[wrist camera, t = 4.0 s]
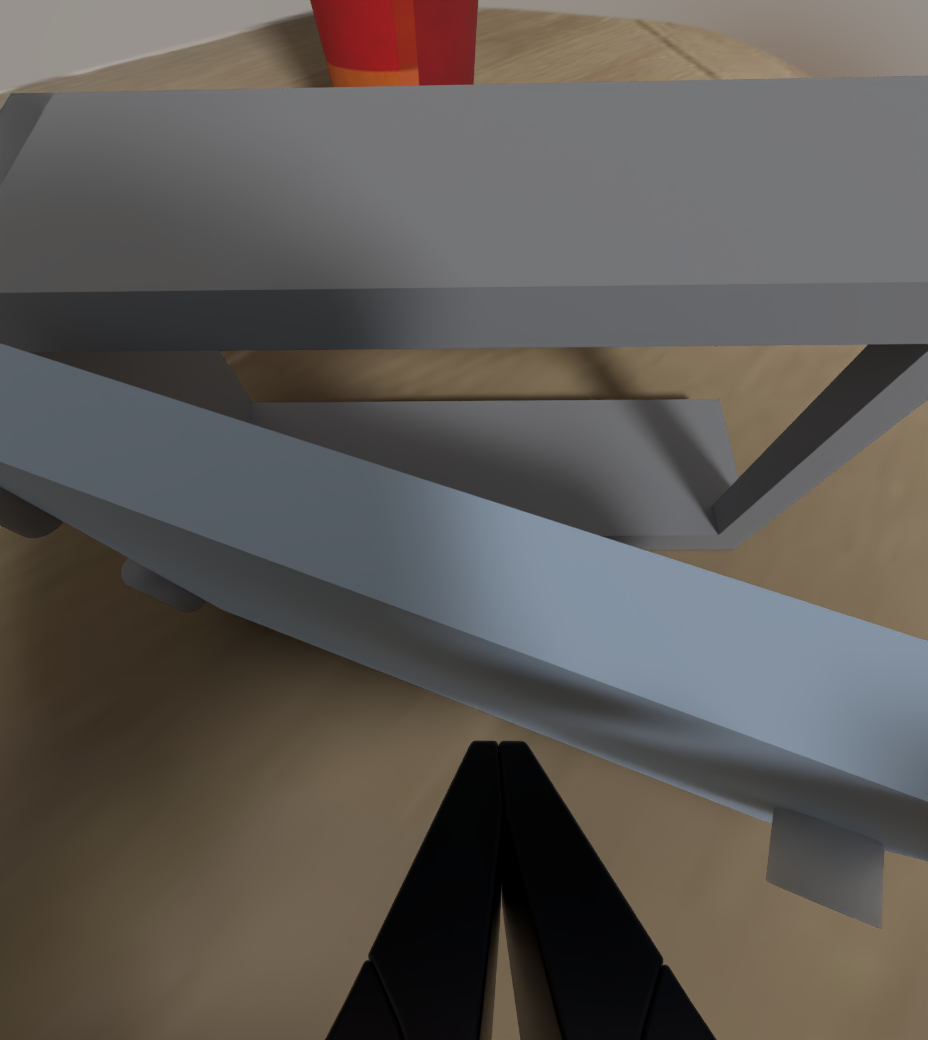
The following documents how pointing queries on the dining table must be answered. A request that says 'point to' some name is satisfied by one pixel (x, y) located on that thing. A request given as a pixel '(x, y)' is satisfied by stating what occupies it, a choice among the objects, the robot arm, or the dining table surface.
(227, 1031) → the dining table surface
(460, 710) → the dining table surface
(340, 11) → the coffee cup
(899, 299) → the cabinet
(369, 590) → the door
